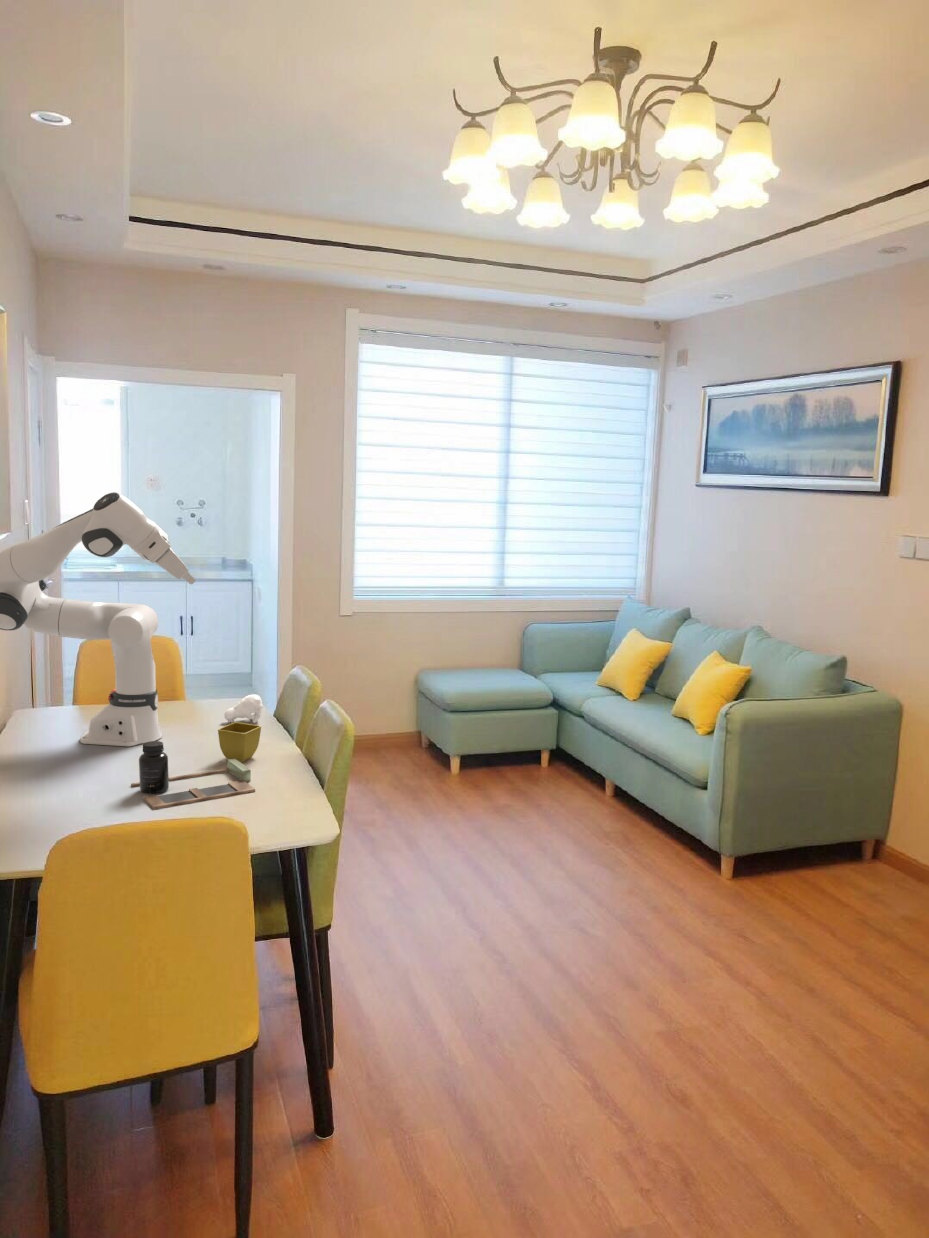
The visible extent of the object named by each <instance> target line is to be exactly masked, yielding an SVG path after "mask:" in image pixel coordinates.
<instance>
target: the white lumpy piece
mask: <svg viewBox="0 0 929 1238" xmlns="http://www.w3.org/2000/svg"><path fill="white" fill-rule="evenodd" d="M262 709H263V701H262V699H261V697H260V696H259V695H258V694H249V695H246V696H244V697H243V698H242V699H240V700H239V702H237V703H236V705H234V706H233V707H230V708H227V709H226V710H225V711H224V715H223V716H224V719H225V720H226V721H227V722H228V724H232V723H234V722H235V720H236V719H238V718H240V719H245V718H246V719H249V720H252V723H253V724H256V723H257V722H258V721H259V720H260V719H261V716H262ZM230 722H231V723H230Z"/></svg>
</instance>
